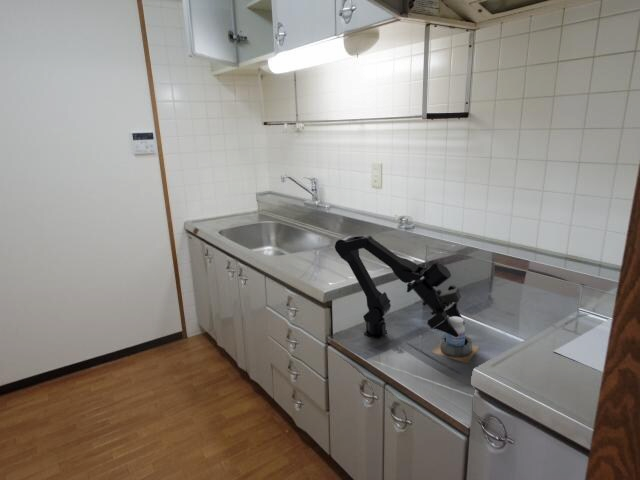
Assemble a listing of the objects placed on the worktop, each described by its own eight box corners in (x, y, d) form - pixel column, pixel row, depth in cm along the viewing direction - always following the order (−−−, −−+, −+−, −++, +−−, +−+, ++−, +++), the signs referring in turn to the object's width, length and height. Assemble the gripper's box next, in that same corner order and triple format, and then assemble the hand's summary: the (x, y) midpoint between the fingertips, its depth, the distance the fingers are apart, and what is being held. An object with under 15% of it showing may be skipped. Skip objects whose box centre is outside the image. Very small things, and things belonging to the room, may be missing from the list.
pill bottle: (447, 354, 133) (448, 323, 130) (443, 345, 139) (444, 315, 136) (466, 354, 133) (468, 323, 130) (461, 344, 139) (462, 315, 136)
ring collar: (435, 351, 135) (435, 342, 134) (447, 339, 143) (447, 330, 142) (465, 360, 129) (465, 351, 128) (475, 347, 137) (475, 338, 136)
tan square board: (431, 353, 135) (431, 352, 135) (445, 338, 144) (445, 337, 144) (467, 364, 128) (467, 363, 128) (479, 348, 137) (479, 347, 137)
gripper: (438, 290, 124) (474, 330, 121) (452, 271, 139) (484, 306, 137) (413, 309, 130) (446, 347, 127) (429, 289, 145) (459, 323, 143)
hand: (460, 330), depth 133 cm, fingers open, 9 cm apart
